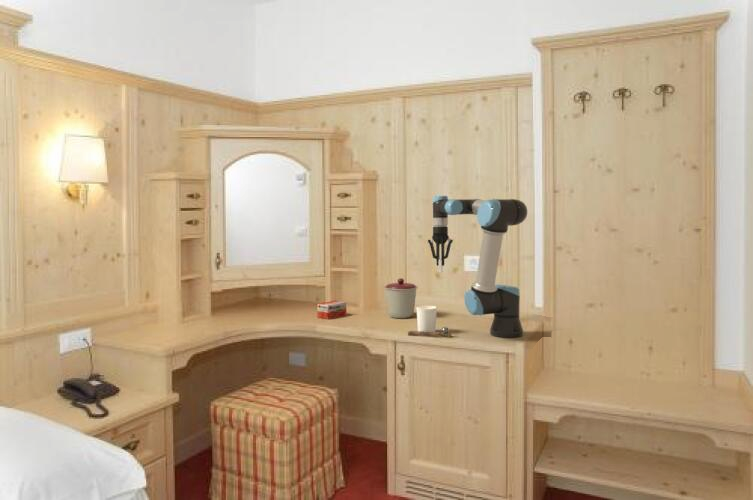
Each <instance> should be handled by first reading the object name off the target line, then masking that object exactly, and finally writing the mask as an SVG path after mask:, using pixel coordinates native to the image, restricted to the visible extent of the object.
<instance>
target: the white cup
mask: <svg viewBox="0 0 753 500" xmlns="http://www.w3.org/2000/svg"><path fill="white" fill-rule="evenodd" d="M415 308H416V320H417V321H416V322H417V323H416V324H417V331H424V332H436V327H437V325H436V323H437V311H438V310H437V309H438V308H437V306H434V305H419V306H415Z"/></svg>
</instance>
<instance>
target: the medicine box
mask: <svg viewBox="0 0 753 500" xmlns="http://www.w3.org/2000/svg"><path fill="white" fill-rule="evenodd" d="M316 309H317V312H316V313H317V318H318V319H324V320H332V319H337V318H341V317H346V316H347V301H343V300H342V301H341V300H331V301H326V302H321V303H317V308H316Z"/></svg>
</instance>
